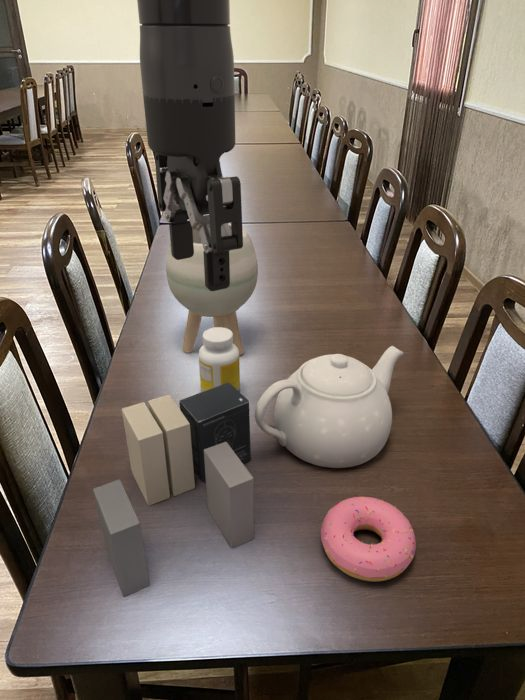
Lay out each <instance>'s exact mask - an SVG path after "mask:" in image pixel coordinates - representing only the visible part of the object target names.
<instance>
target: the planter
mask: <svg viewBox="0 0 525 700" xmlns="http://www.w3.org/2000/svg"><path fill="white" fill-rule="evenodd" d="M228 225H229V228H230V231H231V223H228ZM192 230H193V246H194V255H193V256H192V257H191V258H186V259H181V260H176V259H175V258H174V257H173V256H172V253H171V241H170V242H169V245H168V250H167V255H166V262H165V263H166V264H165V268H166V269H165V270H166V271H165V272H166V280H167V284H168V287H169V290H170V292H171V294H172V295H173V297H174V298H175V300H176V301H177V302H178V303H179V304H180V305H181V306H182V307H184V308H185V309H186V310H188V312H187V319H186V325H185V330H184V334H183V340H182V346H181V350H182V351H183V352H184V353H187V354H188V353H191V352H193V351H194V348H195V345H196V341H197V337H198V334H199V330H200V326H201V323H202V317H206V318H212V320H213V326H214V327H213V328H215V327H222V328H227V329H229V330H231V331H232V333H233V344H234V345H236V347H237V348H238V350H239V356H242V355H243V354H244V353H245V350H244V344H243V340H242V339H243V338H242V334H241V331H240V326H239V321H238V316H237V311H238V310H239V309H241V307H243V306H244V305H245V304H246V303H247V302H248V301H249V299H250V298H251V296H252V295H253V293H254V291H255V289H256V287H257V283H258V277H259V276H258V275H259V264H258V258H257V257H258V256H257V253H256V249H255V246H254V244H253V241H252V238H251V237H250V234H249V233H248V231H247V229H245V228H244V227H242V230H243V247H242V248H241V249H235V250H230V251H229V262H230V285H229V287H228V288H226V289H221V290H217V291H210V290H209V289H208V288H206V286H205V273H204V254H203V251H204V248H203V245H202V241H201V238H200V235H199V232H198V231H197V230H195V229H193V228H192ZM208 230H209V233H210V227H208ZM231 235H232V231H231ZM210 236H211V235H210Z"/></svg>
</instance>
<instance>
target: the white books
mask: <svg viewBox="0 0 525 700" xmlns="http://www.w3.org/2000/svg"><path fill="white" fill-rule="evenodd" d="M147 404H148V405H147ZM147 404H146V403H145V402H144V401H143V402H139V403H136V404H132V405H129V406H125V407H122V408H121V415H122V422H123V425H124V426H123V427H124V433H125V439H126V445H127V446H126V447H127V451H128V458H129V463H130V471H131V473H132V476H133V478H134V480H135V482H136V484H137V486H138V488H139V490H140V492H141V494H142V497H143V498H144V501H145V502H146V504H147V506H148V507H150V506H152V505H154V504H158V503H160V502H162V501H165V500H169V499H170V498H171V494H172V496H173V497H176V496H178V495H182V494H183V493H186V492H189V491H191V490H194V489H196V484H195V471H194V469H193V457H192V445H191V433H190V423H189V422H188V420H187V419H186V418H185V416H184V415H183V413H182V412H181V410H180V406H178V404H177V403H176V402H175V400H174V399H173V397H172V395H171V394H169V393H168V394H165V395H162V396H159V397H155V398H153V399H149V400H147ZM170 492H171V494H170Z"/></svg>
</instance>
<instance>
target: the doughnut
mask: <svg viewBox="0 0 525 700" xmlns="http://www.w3.org/2000/svg"><path fill="white" fill-rule="evenodd" d="M361 530H368V531H371V532H374V533H376V534H377V535H378V536H379V537H380V538H381V541H380V542H378V543H375V542H372V543H371V544H370V543H368V542H367V543H365V542H363V540H361V541H360V539H359V538H358V539H357V537H355V534H354V533H355V532H357V531H361ZM416 536H417V534H415V533H414V529H413V526H412V525H411V523H410V519H408V518H407V517H406V516H405V513H404V512H402V511H400V510H399V509H398V508H397V506H396V505H395V506H394V505H393V504H391V503H389V502H387V501H386V499H384V500H382V499H379V498H377V497H371V496H363V495H361V496H358V495H357V494H356V496H353V497H349V498H348V497H347V498H345V499H344V500H341V501H338V502H336V504H334V506H332V507H331V508H328V511H327V513H326V515H324V518H323V521H322V523H321V527H320V539H321V543H322V547H323V549H324V552H325V554H326V555H327V557H328V559H329V560H330V562H331V563H332V564H333V565H334V566H335V567H336V568H337V569H338V570H340V571H341V572H343V573H344V574H346V575H347V576H349V577H352V578H354V579H357V580H360V581H363V582H364V581H365V582H373V583H374V582H384V581H388V580H392V579H394V578H396V577H398V576H400V575H401V574H402V573H403V572H404V571H405V570H406V569H408V566H409V565H410V564H411V563H412V561H413V559H414V558H415V555H416V549H417V542H416Z"/></svg>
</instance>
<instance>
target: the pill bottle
mask: <svg viewBox="0 0 525 700" xmlns="http://www.w3.org/2000/svg"><path fill="white" fill-rule="evenodd" d="M202 342H203V345H201V347H200V348H199V349H198V367H199V382H200V393H201V392H204V391H207V390H209V389H212V388H215V387H217V386H220V385H223V384H225V383H228V382H229V383H230V384H231V385H233V386H234V387H235V388H236V389H237V390H238V391H239V392H240V393H241V373H240V371H241V370H240V355H239V350H238V348H237V347H236V345H234V344H233V333H232V331H231V330H229V329H227V328H222V327H210V328H207V329H206V330H205V331H204V332H203V333H202Z"/></svg>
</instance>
